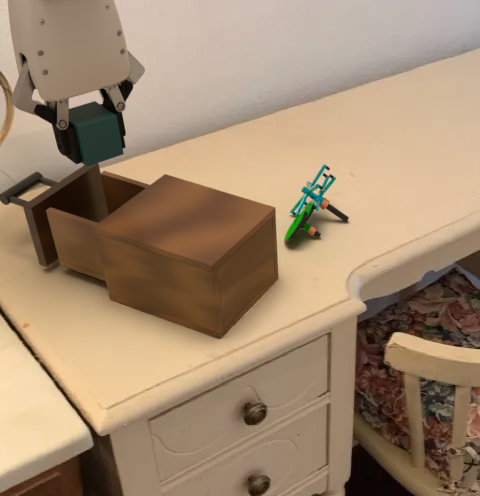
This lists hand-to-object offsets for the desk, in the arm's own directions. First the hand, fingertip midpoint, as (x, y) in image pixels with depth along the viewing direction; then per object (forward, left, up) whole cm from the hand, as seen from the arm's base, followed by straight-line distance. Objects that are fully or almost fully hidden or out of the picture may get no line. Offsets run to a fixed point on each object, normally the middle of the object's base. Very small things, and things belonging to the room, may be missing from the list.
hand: (94, 149), depth 89 cm
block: (0, 0, 0) cm, 0 cm away
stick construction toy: (+25, +1, -15) cm, 29 cm away
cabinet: (+8, -8, -14) cm, 18 cm away
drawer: (-2, +2, -13) cm, 14 cm away
